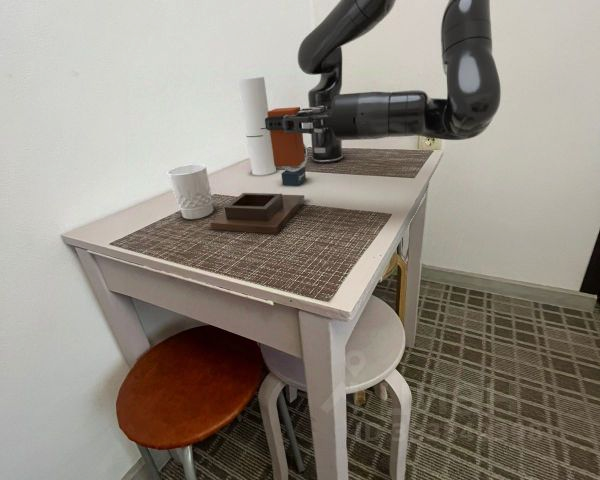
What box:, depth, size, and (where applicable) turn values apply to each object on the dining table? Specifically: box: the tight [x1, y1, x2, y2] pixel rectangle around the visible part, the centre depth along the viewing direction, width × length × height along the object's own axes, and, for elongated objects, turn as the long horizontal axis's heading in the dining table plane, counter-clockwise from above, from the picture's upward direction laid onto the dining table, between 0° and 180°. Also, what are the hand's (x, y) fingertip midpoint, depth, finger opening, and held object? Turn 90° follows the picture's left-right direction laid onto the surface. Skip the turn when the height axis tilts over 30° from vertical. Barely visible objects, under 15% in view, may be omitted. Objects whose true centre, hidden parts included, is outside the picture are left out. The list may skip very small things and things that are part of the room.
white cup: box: [166, 163, 214, 220], centre depth 70 cm, size 8×8×10 cm
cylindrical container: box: [236, 76, 277, 176], centre depth 92 cm, size 7×7×25 cm
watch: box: [280, 144, 309, 187], centre depth 83 cm, size 6×8×11 cm
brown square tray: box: [210, 192, 306, 235], centre depth 68 cm, size 16×14×4 cm
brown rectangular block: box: [267, 106, 305, 167], centre depth 62 cm, size 4×5×10 cm
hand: (271, 121), depth 61 cm, fingers closed on brown rectangular block, 4 cm apart
